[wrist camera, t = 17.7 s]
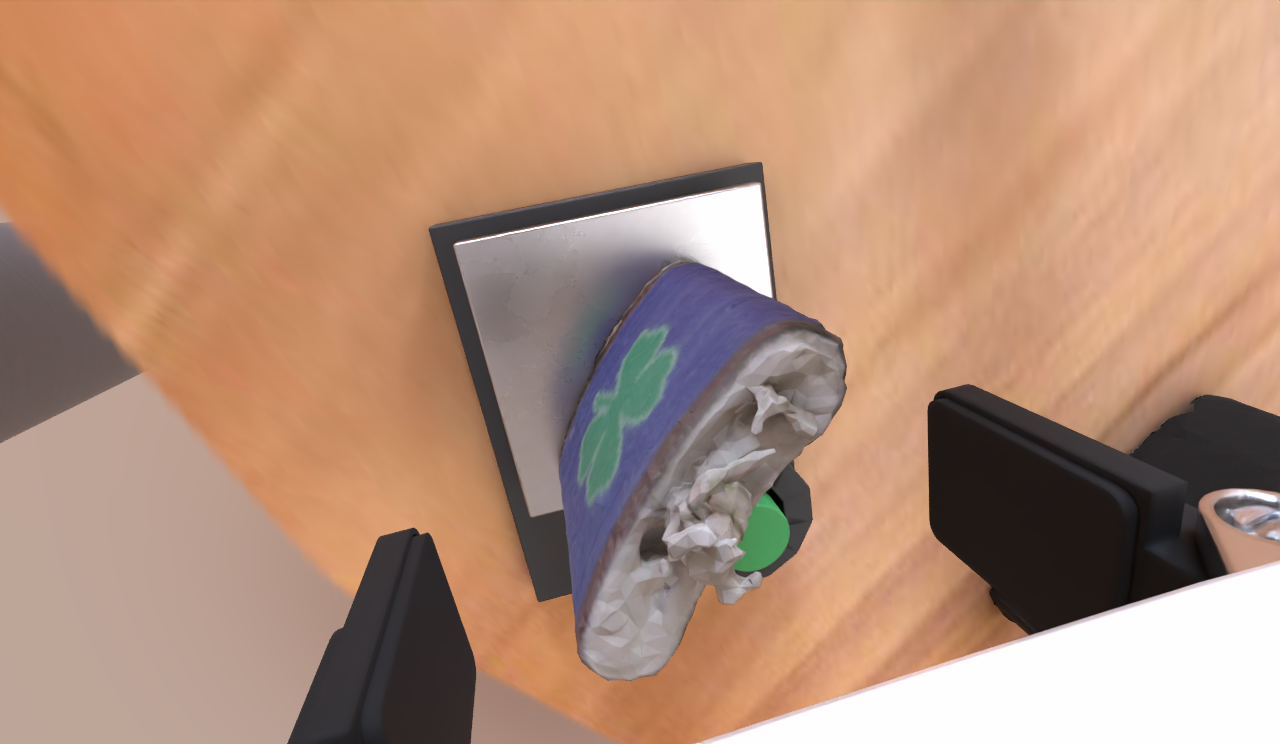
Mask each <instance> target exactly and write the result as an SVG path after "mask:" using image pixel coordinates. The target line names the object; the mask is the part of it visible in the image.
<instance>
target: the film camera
mask: <svg viewBox="0 0 1280 744" xmlns="http://www.w3.org/2000/svg"><path fill="white" fill-rule="evenodd" d="M1190 404H1194V405H1195V411H1194V412H1192V413H1186V414H1181V415H1178V416H1175V417H1173V418H1170V419H1169V420H1168V421H1166V422H1165V424H1163V425H1161V428H1160V429H1159V430H1158V431H1156V432H1152V433H1151V434H1150V436H1149V437H1148V438H1147V439H1146V440H1145V441H1144V442H1143V443H1142V444H1141V446H1140V447H1139V448H1138V449H1136V450H1135V451H1134V453H1132V454H1131V455H1129V456H1131V457H1133V458H1136V459H1138V460H1140V461H1142V462H1144V463H1147V464H1149V465H1151V466H1153V467H1156V468H1158V469H1160V470H1162V471H1164V472H1167V473H1169V474H1171V475H1173V476H1176V477H1178V478H1180V479H1182V480H1184V481H1187V482H1188V485H1187V491H1186V498H1185V503H1187V504H1189V505H1191V506H1193V507H1195V508H1197V509H1198V505H1199V501H1200V500H1201V499H1202V498H1203V497H1204V495H1206V494H1209V493H1212V492H1214V491H1217V490H1225V489H1257V490H1264V491H1271V492H1277V493H1280V417H1279V416H1276V415H1274V414H1271V413H1268V412H1265V411H1263V410H1260V409H1257V408H1254V407H1251V406H1248V405H1245V404H1243V403H1241V402H1238V401H1236V400H1233V399H1230V398H1225V397H1220V396H1214V395H1204V396H1202V397H1201V396H1200V397H1199V398H1196V399H1195V400H1194V401H1193V402H1192V403H1190ZM990 595H991V597H992V599H993V601H994V604H995V605H996V606H998V608H999V609H1000V611H1001V612H1002V614H1003V615H1004V616H1005V617H1006V618H1007V619H1009V620H1010V621H1012V622H1014V623H1016V624H1017V625H1018V626H1019V627H1021V628H1022V629H1023V630H1024V631H1025V632H1026V633H1027V634H1028V635H1033V634H1036V633H1039V632H1042V631H1044V630H1042V629H1041V628H1040V627H1039V626H1038V625H1037V624H1035V623H1034V622H1033V621H1032V620H1031V619H1030V618H1028V617H1027V616H1026V615H1025V614H1024V613H1023V612H1021V611H1020V610H1019V609H1018V608H1017V607H1016V606H1014V605H1013V604H1012V603H1011V602H1010V601H1009V600H1007V599H1006V598H1005V597H1004V596H1003V595H1002V594H1000V593H999V592H998V591H997V590H996V589H995V588H993V587H992V589H991V590H990Z"/></svg>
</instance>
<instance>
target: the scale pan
mask: <svg viewBox="0 0 1280 744" xmlns="http://www.w3.org/2000/svg"><path fill="white" fill-rule="evenodd" d="M453 247H454V250H455V254H456V257H457V261H458V264H459V268H460V271H461V275H462V278H463V282H464V286H465V289H466V293H467V296H468V300H469V303H470V307H471V310H472V314H473V317H474V321H475V324H476V328H477V331H478V335H479V339H480V342H481V346H482V349H483V353H484V356H485V360H486V363H487V367H488V370H489V374H490V377H491V381H492V384H493V388H494V392H495V395H496V399H497V402H498V406H499V409H500V413H501V416H502V420H503V423H504V427H505V430H506V434H507V437H508V441H509V445H510V448H511V452H512V455H513V459H514V462H515V466H516V469H517V473H518V476H519V480H520V483H521V487H522V490H523V494H524V498H525V501H526V505H527V508H528V512H529V515H530V517H536V516H540V515H544V514H548V513H552V512H556V511H560V510H563V503H562V495H561V484H560V479H559V458H560V455H561V449H562V446H563V441H564V437H565V434H566V433H567V431H568V427H569V422H570V421H571V417H572V416H573V415H574V413H575V410H576V409H577V407H578V405H577V403H578V401H579V400H580V399H581V395H582V393H583V391H584V390H585V386H586V384H587V382H588V378H590V376H591V374H592V371H593V370H594V366H595V365H596V359H597V357H598V355H599V353H600V352H601V350H603V348H604V346H605V344H606V343H607V338H608V337H609V336H610V334H611V333H612V332H613V330H614V327H615V326H616V325H617V324H618V323H619V322H620V320H622V315H623V314H624V312H625V311H626V310H627V309H628V308H629V306H631V305H632V304H633V302H634V301H635V300H636V298H637V297H638V295H639V293H640V292H641V291H643V287H644V286H645V285H646V284H647V283H648V282H649V281H650V280H651V279H652V278H654V277H655V276H657V275H658V274H659V273H660V271H661V269H663V268H664V267H666V266H668V265H670V264H672V263H674V262H676V261H678V260H682V261H694V262H697V263H700V264H703V265H706V266H709V267H712V268H714V269H717V270H719V271H720V272H721V273H723V274H725V275H727V276H730V277H731V278H733V279H734V280H736V281H738V282H740V283H742V284H745V285H747V286H748V287H750V288H752V289H753V290H755V291H757V292H758V293H760V294H763V295H766V296H768V297H771V298H773V291H772V281H771V272H770V263H769V253H768V244H767V235H766V225H765V216H764V207H763V197H762V188H761V183H759V182H749V183H744V184H740V185H735V186H730V187H725V188H720V189H715V190H710V191H705V192H700V193H695V194H690V195H685V196H680V197H675V198H670V199H665V200H660V201H655V202H650V203H645V204H640V205H635V206H630V207H625V208H620V209H615V210H610V211H605V212H600V213H595V214H590V215H585V216H580V217H575V218H570V219H565V220H560V221H555V222H550V223H545V224H540V225H535V226H530V227H525V228H520V229H515V230H510V231H505V232H500V233H495V234H490V235H485V236H480V237H475V238H470V239H465V240H460V241H457V242H456V243H455V244H454V246H453Z"/></svg>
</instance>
